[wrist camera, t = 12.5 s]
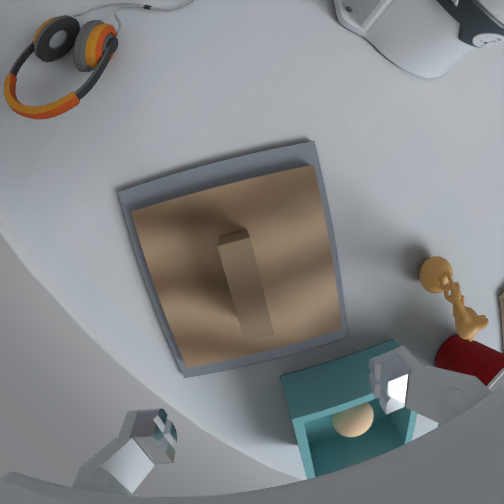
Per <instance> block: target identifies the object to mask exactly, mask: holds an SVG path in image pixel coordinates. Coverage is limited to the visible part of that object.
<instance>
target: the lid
mask: <svg viewBox="0 0 504 504" xmlns="http://www.w3.org/2000/svg"><path fill="white" fill-rule="evenodd" d="M132 216H133V219H134V223H135V226H136V230H137V233H138V237H139V240H140V243H141V246H142V250H143V253H144V256H145V259H146V262H147V265H148V268H149V271H150V274H151V277H152V280H153V283H154V286H155V288H156V291H157V294H158V297H159V300H160V302H161V305H162V308H163V310H164V313H165V316H166V318H167V321H168V323H169V326H170V328H171V331H172V333H173V336H174V338H175V341H176V343H177V346H178V348H179V351H180V353H181V355H182V358H183V360H184V362H185V365H186V367H187V368H190V367H195V366H201V365H206V364H211V363H215V362H220V361H225V360H230V359H234V358H238V357H243V356H247V355H251V354H255V353H259V352H263V351H267V350H271V349H275V348H279V347H283V346H286V345H290V344H294V343H297V342H301V341H304V340H308V339H311V338H314V337H318V336H321V335H324V334H328V333H331V332H334V331H337V330H340V329H342V324H341V316H340V308H339V300H338V293H337V286H336V279H335V273H334V267H333V260H332V254H331V249H330V243H329V237H328V232H327V226H326V221H325V216H324V211H323V206H322V201H321V196H320V191H319V187H318V182H317V177H316V173H315V169H314V165H309V166H304V167H300V168H295V169H290V170H285V171H281V172H276V173H272V174H267V175H263V176H259V177H255V178H250V179H246V180H242V181H238V182H234V183H230V184H226V185H222V186H219V187H215V188H211V189H207V190H204V191H200V192H196V193H193V194H189V195H186V196H182V197H179V198H175V199H172V200H168V201H165V202H162V203H158V204H155V205H152V206H149V207H145V208H142V209H139V210H136V211H133V212H132Z"/></svg>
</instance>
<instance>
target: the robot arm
mask: <svg viewBox="0 0 504 504" xmlns="http://www.w3.org/2000/svg"><path fill="white" fill-rule="evenodd" d="M334 5H335V10H336V15H337V19H338V21H339V22H340V24H342V25H343V26H344V27H346V28H347V29H349V30H351V31H353V32H355V33H357V34H359V35H361V36H363V37H364V38H366V39H367V40H368V41H369V42H370V43H372V44H373V45H374V46H375V47H376V48H377V49H378V50H379V51H380V52H381V53H382V54H383V55H384V56H385V57H386V58H388V59H389V60H390V61H392V62H393V63H394V64H396V65H397V66H399V67H400V68H402V69H404V70H406V71H408V72H410V73H412V74H415V75H418V76H421V77H426V78H436V77H440V76H442V75H444V74H445V73H446V72H447V71H448V70H449V69H450V68H451V67H452V66H453V65H454V64H455V63H456V62H457V61H458V60H459V59H461V58H462V57H463V56H465V55H466V54H468V53H469V52H471V51H472V50H474V49H476V48H478V47H479V48H480V47H487V46H492V45H495V44H498V43H501V42H504V0H334ZM346 9H347V10H349V11H350V12H348V11H347V10H346ZM368 365H369V369H370V370H371V373H370V374H369V384H370V388H371V390H372V393H373V394H374V396H375V397H378V398H379V404H380V406H381V407H382V409H383V410H384V412H385V414H388V413H391V412H393V411H396V410H398V409H401V408H403V407H405V406H406V408H408V409H410V410H412V411H414V412H416V413H418V414H420V415H423V416H425V417H427V418H429V419H431V420H434V421H436V422H438V423H439V425H438V427H437V428H436V429H434V430H432V431H430V432H428V433H426V434H424V435H423V436H421V437H419V438H417V439H415V440H413V441H411V442H408V443H406V444H404V445H402V446H400V447H398V448H395V449H393V450H391V451H389V452H386V453H384V454H382V455H379V456H377V457H374V458H372V459H369V460H367V461H364V462H361V463H359V464H356V465H353V466H350V467H347V468H344V469H341V470H338V471H335V472H332V473H328V474H325V475H322V476H318V477H315V478H311V479H307V480H303V481H299V482H295V483H290V484H286V485H281V486H276V487H271V488H265V489H260V490H253V491H247V492H239V493H231V494H221V495H209V496H193V497H192V496H191V497H153V496H152V497H150V496H134V495H133V494H132V493H133V492H134V490H135V489H136V488H137V486H138V485H139V484H140V483H141V482H142V481H143V479H144V478H145V477H146V476H147V474H148V473H149V472H150V471H151V469H152V468H153V467H154V464H169V463H173V462H174V455H175V450H174V449H173V446H174V445H175V444H176V442H177V433H176V429H175V426H174V425H173V423H172V422H171V421H169V420H168V419H167V414H166V412H165V410H164V409H148V410H134V411H129V412H128V413H127V414H126V417H125V420H124V423H123V426H122V428H121V431H120V434H119V437H118V438H115V439H113V440H112V441H111V442H110V443H109V444H107V445H106V446H105V447H104V448H103V449H102V450H100V451H99V452H98V453H97V454H95V455H94V456H93V457H92V458H90V459H89V460H88V461H87V462H86V463H84V464H83V465H82V466H80V468H79V470H78V473H77V476H76V478H75V481H74V483H73V486H72V487H69V486H64V485H60V484H56V483H51V482H47V481H44V480H40V479H37V478H33V477H30V476H27V475H24V474H21V473H18V472H8V473H6V474H4V475H2V476H0V504H504V384H503V385H501V386H500V387H499V388H497V389H496V390H495V391H493V392H491V391H490V390H489V389H488V388H487V387H486V386H485V385H484V384H483V383H482V382H481V381H480V380H479V379H478V378H477V377H476V376H471V375H467V374H462V373H458V372H453V371H449V370H445V369H441V368H437V367H432V366H428V365H426V366H423V365H422V364H421V363H420V362H419V361H418V359H417V358H416V357H415V356H414V355H413V354H412V353H411V352H410V351H409V350H408V349H407V348H406V347H405V346H400V347H398V348H396V349H394V350H392V351H389V352H387V353H384V354H382V355H379V356H377V357H374V358H371V359H369V362H368Z"/></svg>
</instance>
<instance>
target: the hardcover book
mask: <svg viewBox="0 0 504 504" xmlns="http://www.w3.org/2000/svg"><path fill="white" fill-rule="evenodd" d="M499 301H500V309H501V319H502V330H503V348H504V291H503V292H502V294H501V295H500V296H499Z"/></svg>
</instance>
